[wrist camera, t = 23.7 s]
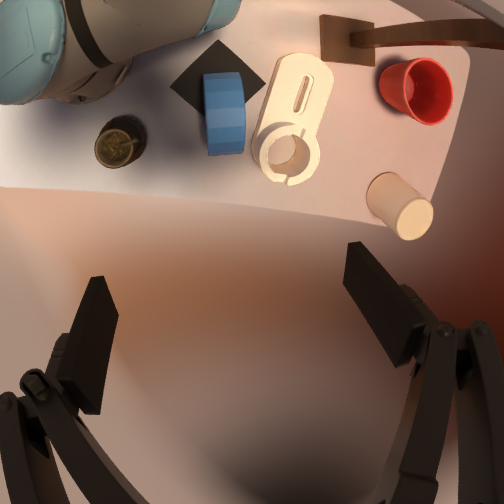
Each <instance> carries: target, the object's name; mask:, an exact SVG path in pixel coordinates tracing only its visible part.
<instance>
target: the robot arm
mask: <svg viewBox="0 0 504 504" xmlns="http://www.w3.org/2000/svg"><path fill="white" fill-rule="evenodd" d="M240 4H241V0H3V1H2V2H1V3H0V104H1V105H24V104H26V103H30V102H32V101H35V100H39V99H44V98H49V97H54V98H56V99H58V100H60V101H62V102H65V103H69V104H84V103H89V102H93V101H96V100H98V99H100V98H103V97H104V96H106V95H108V94H109V93H110V92H112V91H113V90H114V89H115V88H116V87H117V86H118V85H119V84H120V83H121V82H122V81H123V79H124V78H125V76H126V75H127V73H128V71H129V69H130V67H131V64H132V61H133V57H134V56H135V55H138V54H140V53H143V52H146V51H149V50H152V49H155V48H158V47H161V46H164V45H167V44H170V43H174V42H177V41H180V40H184V39H187V38H195V37H198V36H200V35H201V34H202V33H206V32H209V31H212V30H216V29H219V28H222V27H225V26H226V25H228V24H229V23H231V22H232V21H233V19H234V18H235V17H236V15H237V13H238V11H239V8H240ZM343 285H344V286H345V288H346V289H347V291H348V292H349V294H350V295H351V297H352V298H353V300H354V302H355V303H356V305H357V306H358V308H359V309H360V311H361V312H362V314H363V316H364V317H365V319H366V320H367V322H368V324H369V325H370V327H371V329H372V330H373V332H374V333H375V335H376V336H377V338H378V340H379V341H380V343H381V345H382V346H383V348H384V350H385V351H386V353H387V355H388V356H389V358H390V360H391V361H392V363H393V365H394V367H395V368H398V367H401V366H403V365H406V364H409V362H410V360H411V358H412V356H414V357H415V359H416V363H415V365H414V367H413V369H412V371H411V373H410V376H412V379H411V383H410V387H409V391H408V395H407V398H406V402H405V406H404V409H403V413H402V416H401V420H400V423H399V426H398V429H397V432H396V435H395V439H394V442H393V444H392V447H391V450H390V453H389V456H388V458H387V461H386V464H385V466H384V469H383V472H382V474H381V477H380V479H379V482H378V484H377V486H376V489H375V491H374V492H373V494H372V496H371V497H370V498H369V500H368V502H367V504H434V500H435V497H436V494H437V490H438V482H437V480H436V473H437V469H438V465H439V461H440V457H441V453H442V449H443V445H444V440H445V435H446V430H447V425H448V420H449V414H450V407H451V401H452V394H453V390H454V398H455V407H456V418H457V430H458V431H457V432H458V456H459V483H458V484H459V485H458V504H504V367H503V364H502V360H501V357H500V353H499V350H498V347H497V343H496V340H495V338H494V334H493V331H492V329H491V327H490V326H489V325H488V324H487V323H485V322H484V321H481V320H474V321H472V322H471V324H470V326H469V328H465V329H456V328H455V327H454V326H453V325H452V324H451V323H448V322H445V321H439V320H438V319H437V317H436V316H435V315H434V314H433V312H432V311H431V310H430V309H429V308H428V307H427V305H426V304H425V303H423V300H422V299H421V298H420V297H419V296H418V295H417V293H416V292H415V291H414V290H413V289H412V288H410V287H409V286H407V285H405V284H403V285H398V284H397V283H396V282H395V280H394V279H393V278H392V277H391V276H390V275H389V273H388V272H387V271H386V270H385V269H384V268H383V266H382V265H381V264H380V263H379V262H378V261H377V260H376V258H375V257H374V256H373V255H372V254H371V253H370V252H369V250H368V249H367V248H366V247H365V246H364V245H363V244H362V243H361V242H360V241H359V242H352V243H348V249H347V257H346V264H345V272H344V279H343ZM118 316H119V314H118V312H117V310H116V307H115V304H114V302H113V299H112V297H111V294H110V291H109V289H108V286H107V284H106V281H105V278H104V276H97V277H91V279H90V281H89V283H88V286H87V288H86V291H85V293H84V296H83V298H82V300H81V303H80V306H79V308H78V311H77V313H76V316H75V319H74V321H73V324H72V327H71V330H70V332H69V333H62V335H61V336H60V337H59V338H58V339H57V341H56V343H55V346H54V348H53V351H52V354H51V358H50V360H49V363H48V366H47V369H46V372H45V374H44V373H43V372H42V370H40V369H31V370H29V371H27V372H26V373H25V374H24V375H23V376H22V378H21V380H20V389H21V390H22V391H23V392H24V394H25V395H26V396H22V397H19V398H17V397H16V396H15V394H14V393H13V392H4V393H3V394H1V395H0V453H1V460H2V465H3V471H4V476H5V480H6V485H7V489H8V493H9V497H10V501H11V504H70V502H69V500H68V497H67V494H66V491H65V489H64V486H63V483H62V481H61V477H60V474H59V471H58V468H57V465H56V462H55V458H54V455H53V452H52V448H51V444H50V441H51V443H52V445H53V447H54V448H55V450H56V452H57V454H58V455H59V457H60V459H61V460H62V462H63V464H64V465H65V467H66V468H67V470H68V472H69V473H70V475H71V476H72V478H73V479H74V481H75V482H76V484H77V486H78V487H79V489H80V490H81V491H82V493H83V494H84V496H85V497H86V498H87V500H88V501H89V503H90V504H149V503H148V502H147V501H146V500H145V499H144V497H143V496H142V495H141V494H140V493H139V492H138V491H137V490H136V489H135V488H134V487H133V486H132V484H131V483H130V482H129V481H128V480H127V479H126V477H125V476H124V475H123V474H122V473H121V472H120V471H119V469H118V468H117V467H116V465H115V464H114V463H113V462H112V461H111V459H110V458H109V457H108V455H107V454H106V453H105V452H104V450H103V449H102V448H101V446H100V445H99V443H98V442H97V441H96V440H95V438H94V437H93V435H92V434H91V433H90V431H89V429H88V428H87V427H86V425H85V424H84V422H83V421H82V419H81V418H80V417H79V416H78V412H79V408H80V409H81V410H82V411H83V413H84V414H88V415H100V411H101V404H102V397H103V391H104V385H105V379H106V374H107V368H108V363H109V358H110V352H111V347H112V343H113V338H114V333H115V329H116V325H117V321H118ZM49 439H50V440H49Z"/></svg>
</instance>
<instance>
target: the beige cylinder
mask: <svg viewBox="0 0 504 504" xmlns="http://www.w3.org/2000/svg"><path fill="white" fill-rule="evenodd" d="M367 204H368V207H369V209H370V210H371V211H372V212H373V213H374V214H375V215H376V216H377V217H379V218H380V219H381V220H382V221H383V222H384V223H385V224H386V225H387V226H388V227H390V228H391V229H392V230H393V231H394V232H395V233H396V234H397V235H398V236H399V237H400V238H402V239H404V240H414V239H416V238H418V237H420V236H421V235H423V234H424V233H425V232H426V230H427V229H428V227H429V226H430V224H431V222H432V218H433V209H432V205H431V203H430V202H429V201H428V200H427V199H426V198H425V197H423V196H422V195H421V194H420V193H419V192H418V191H417V190H415V189H414V188H413V187H412V186H411V185H410V184H408V183H407V182H406V181H405V180H404V179H402V178H401V177H400V176H399V175H397V174H394V173H385V174H382V175H380V176H379V177H377V178H376V179H375V180H374V181H373V182H372V184H371V185H370V187H369V189H368V192H367Z"/></svg>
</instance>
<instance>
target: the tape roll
mask: <svg viewBox="0 0 504 504" xmlns="http://www.w3.org/2000/svg"><path fill="white" fill-rule="evenodd" d="M203 90H204V110H205V125H206V137H207V148H208V156H218V155H229V154H241V153H242V152H243V151H244V146H245V130H246V121H245V102H244V92H243V86H242V80H241V77H240V74H239V72H229V73H213V74H203Z"/></svg>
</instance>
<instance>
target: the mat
mask: <svg viewBox="0 0 504 504" xmlns="http://www.w3.org/2000/svg"><path fill="white" fill-rule="evenodd" d="M229 72H239V74H240V77H241V80H242V86H243V92H244V102H245V103H246V102H247V101H248V100H249V99H250V98H251V97H252V96H253V95H254V94H255V93H257V92H258V91H259V90H260V89H261V88H262V87H263V86H264V85H265V84H266V83H265V82H264V81H263V80H262V79H261V78H260V77H259V76H258V75H257V74H256V73H255V72H254V71H253V70H252V69H250V68H249V67H248V66H247V65H246V64H245V63H244V62H243V61H242V60H241V59H240V58H239V57H238V56H236V55H235V54H234V53H233V52H232V51H231V50H230V49H229V48H228V47H226V46H225V45H224V44H223V43H222V42H221V41H220V40H217V41H216V42H215V43H214V44H213V45H211V46H210V47H209V48H208V49H207V50H206V51H205V52H204V53H203V54H202V55H201V56H200V57H199V58H198V59H197V60H196V61H194V62H193V63H192V64H191V65H190V66H189V67H188V68H187V69H186V70H185V71H184V72H183V73H182V74H181V76H180V77H179V78H178V79H177V80H176V81H175V82H174V83H173V84H172V85H171V86H170V88H171V89H173V90H174V91H175V92H176V93H177V94H179V95H180V96H181V97H182V98H183V99H185V100H186V101H187V102H188V103H189V104H190V105H192V106H193V107H194V108H195V109H196V110H197V111H199V112H200V113H201V114H202V115H203V116H204V117H205V110H204V90H203V74H213V73H229Z"/></svg>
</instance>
